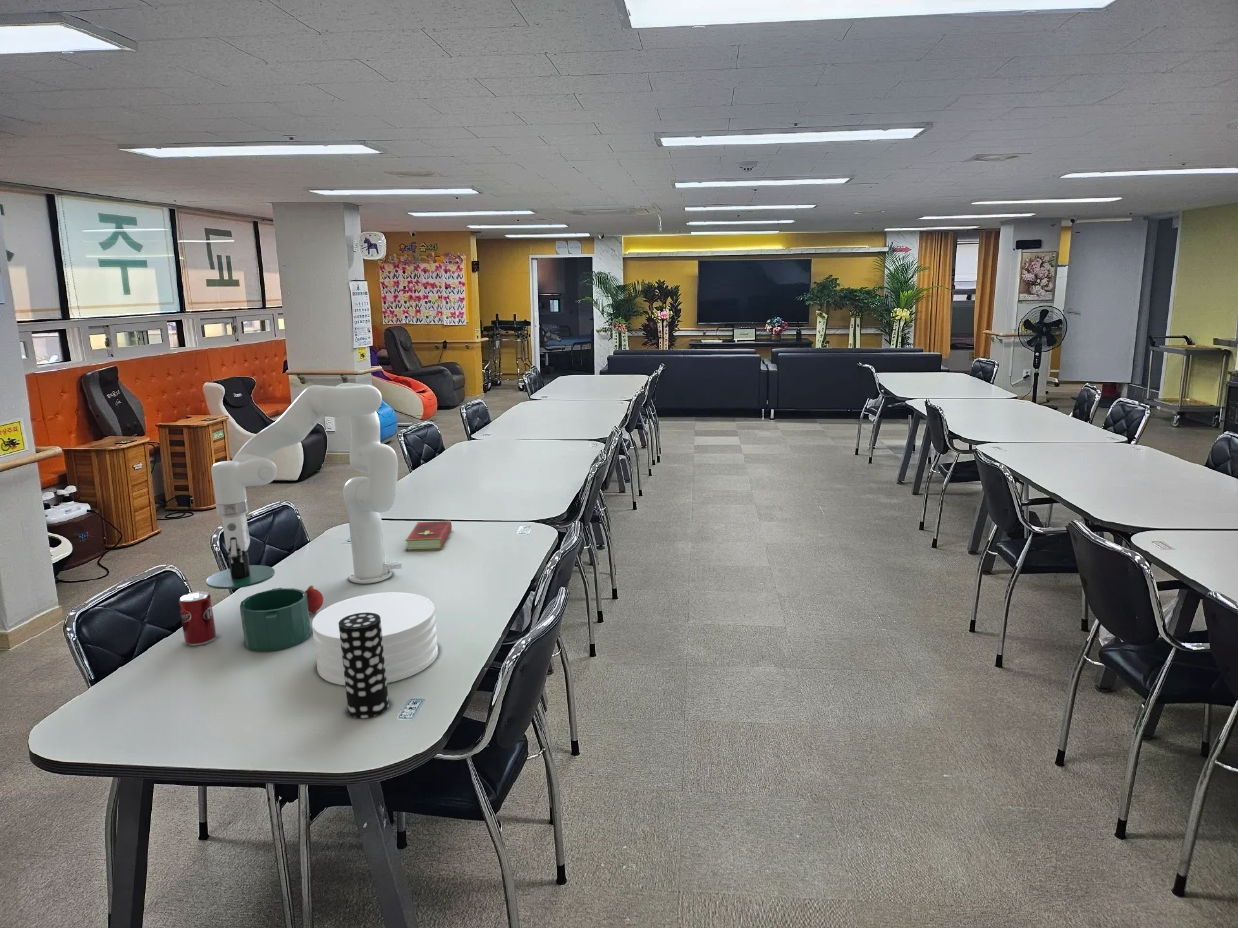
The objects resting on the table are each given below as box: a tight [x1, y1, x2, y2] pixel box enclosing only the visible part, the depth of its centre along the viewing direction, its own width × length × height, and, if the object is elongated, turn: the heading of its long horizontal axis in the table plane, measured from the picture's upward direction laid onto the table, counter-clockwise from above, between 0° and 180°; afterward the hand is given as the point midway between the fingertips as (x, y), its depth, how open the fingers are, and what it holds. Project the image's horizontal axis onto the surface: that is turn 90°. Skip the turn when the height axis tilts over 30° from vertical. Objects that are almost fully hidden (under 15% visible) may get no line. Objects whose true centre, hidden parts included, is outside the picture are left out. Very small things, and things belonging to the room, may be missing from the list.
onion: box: [304, 585, 324, 614], centre depth 226 cm, size 6×6×8 cm
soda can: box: [178, 591, 217, 646], centre depth 210 cm, size 7×7×12 cm
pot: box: [239, 587, 312, 652], centre depth 210 cm, size 16×21×10 cm
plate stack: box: [311, 591, 439, 686], centre depth 197 cm, size 28×28×12 cm
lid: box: [205, 551, 276, 590], centre depth 220 cm, size 17×17×7 cm
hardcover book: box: [405, 520, 453, 552], centre depth 287 cm, size 12×21×4 cm, turn 2°
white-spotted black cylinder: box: [339, 613, 390, 719], centre depth 173 cm, size 8×8×20 cm
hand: (240, 572), depth 220 cm, fingers closed on lid, 4 cm apart
